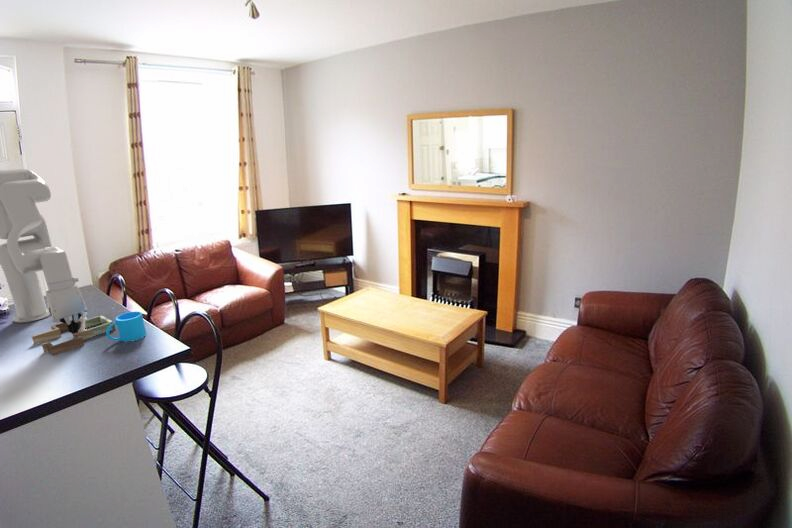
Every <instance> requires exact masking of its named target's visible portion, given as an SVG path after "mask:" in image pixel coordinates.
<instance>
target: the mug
mask: <svg viewBox="0 0 792 528" xmlns="http://www.w3.org/2000/svg"><path fill="white" fill-rule="evenodd" d="M113 322H114V323H112V324H111V325H110V326H109V327H108V328H107V330H106V333H105V335H106V338H108V339H109V340H111V341H121V342H122V341H132V340H136V339H139V340H141V339H143V338H145V337H146V336H145V335H147V331H146V327H145V322H144V317H143V313H142V312H141V311H129V312H124V313H122V314H119V315H118V316H115V321H113ZM114 325H115V326H116V328H117V331H118V335H119V337H113V336H112V335H110V332H111V331H110V329H111V328H112V326H114ZM144 336H145V337H144ZM142 337H143V338H142ZM140 338H141V339H140ZM136 341H137V340H136ZM132 342H133V341H132Z"/></svg>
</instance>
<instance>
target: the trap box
mask: <svg viewBox="0 0 792 528" xmlns="http://www.w3.org/2000/svg"><path fill="white" fill-rule="evenodd" d="M69 320H70V322H72V319H69ZM81 322H82V319H79V321H78V326H79V328H80V326H81ZM114 322H115V321H113V320H111V319H109V318H107V317H106V316H104V315H102V314H100V315H97V316H93V317H91V318H87V319H85V328H86V330H84V331H81V332H78V333H75V334H72V339H69V340H66V341H63V342H61V343H57V344H55V345H54V344H52V342H50V340H53V339H57V338H60V337H62V332H64V331H68V328H67V324H65V323H62V322H58V323H55V324H53V325H50V327H51V328H50V329H51V330H47V331H43V332H41V333H38V334H34V335H32V336H31V338H32V342H33V344H34V345H38V344H41V346H42V350H43V353H44V354H46V353H47V352H48V353H50V355H52V356H57V355H59V354H62V353H64V352H65V353H66V352H67V351H70V350H73V349H77V348H79V347H82V346H85V344H84V340H87V339H91V338H93V336H94V337H96V335H97V336H100V335H103V334H106V333H105V332H106V330H107V328H108V327H109V326H110V325H111V324H112V323H114ZM100 323H102V324H100ZM97 324H98V325H97ZM93 325H95V327H94V326H93ZM91 326H92V327H91ZM88 327H89V328H88ZM114 329H115V330H116V324H115V325H114V326H112V328H111V329H110V330H112V331H115V330H114ZM102 333H103V334H102ZM99 334H100V335H99Z"/></svg>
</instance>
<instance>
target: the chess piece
mask: <svg viewBox="0 0 792 528" xmlns="http://www.w3.org/2000/svg"><path fill="white" fill-rule="evenodd" d="M86 310H87V311H88V308H86ZM88 312H89V311H88ZM88 312H82V314H83V315H82V316H81V317H80V319H82V322H81V326H80V327H79V330H78V332H81V331H84V330H87V328H86V329H85V320H87V319H88V317H86V316H87V315H88V314H89V313H88Z"/></svg>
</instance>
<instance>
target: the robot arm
mask: <svg viewBox="0 0 792 528" xmlns="http://www.w3.org/2000/svg"><path fill="white" fill-rule="evenodd" d="M51 194H52V193H51V189H50V187H49V185H48V184H47V183H46V181H45V180H44V179H42V177H40V176H39V175H38V174H37V173H35V172H34V171H33V170H30V169H28V168H27V169H25V168H23V169H22V168H19V169H17V168H16V169H5V170H3V169H2V170H0V240H6V243H2V244H0V267H1V269H2V271H3V274H4V277H5V279H6V282H7V286H8V288H9V292H10V295H11V298H12V301H13V302H12V303H13V305H14V308H15V311H16V314H17V315H15V316H14V317H13V322H15V323H18V324H20V323H21V324H23V323H31V322H35V321H39V320H42V319H45V318H47V317H49V316H50V317H51V322H52V323H55V324H57V323H65V324H67V328H68V330H67V331H68V333H70V334H72V335H73V334H75V333H78V330H79V329H80V327H79V326H78V321H79V319H80V318H81V317H82V315H83V314H82V312H89V311H88V309H87V305H86V302H85V300H84V298H83V294H82V292H81V290H80V289H79V286H78V285H77V284H76V283H77V282H79V281H80V280H79V278H78V277H73V274H72V270H71V267H70V264H69V259H68V256H67V252H66V251H65V250H63V249H62V248H60V247H57V246H52V243H51V238H50V235H49V230H48V225H47V223H46V220H45V218H44V217H43V215H42V214H41V212H40V211H39V209H38V207H37V205H36V203H37V204H38V203H45V202H48V201H49V200H50V199H51V197H52V195H51ZM31 236H32V238H27V237H31ZM20 238H26V239H20ZM19 239H20V240H19ZM41 271H42V273H43V275H44V279H45V282H46V283H45V284H46V286H47V290H46V291H45V296H46V301H45V297H44V294H43V290H42V286H41V283H40V280H39V277H38V274H37V272H41ZM46 304H47V305H46ZM86 309H87V310H86ZM69 317H71V319H70V318H69ZM70 320H72V322H70Z"/></svg>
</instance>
